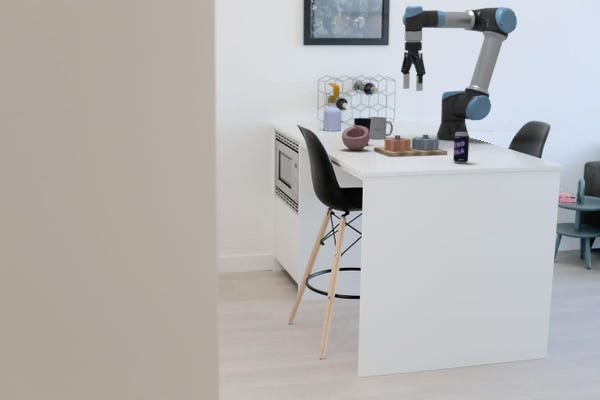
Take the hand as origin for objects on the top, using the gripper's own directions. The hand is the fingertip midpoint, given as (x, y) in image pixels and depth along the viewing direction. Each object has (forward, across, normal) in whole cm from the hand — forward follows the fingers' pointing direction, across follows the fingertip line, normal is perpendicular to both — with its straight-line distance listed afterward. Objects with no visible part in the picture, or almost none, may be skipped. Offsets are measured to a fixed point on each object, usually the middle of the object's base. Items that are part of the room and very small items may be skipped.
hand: (412, 89), depth 381 cm
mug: (+26, -29, -3) cm, 39 cm away
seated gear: (+24, +22, -4) cm, 32 cm away
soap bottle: (+26, -68, -14) cm, 74 cm away
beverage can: (+25, +53, -4) cm, 58 cm away
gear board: (+25, +21, -11) cm, 35 cm away
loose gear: (+23, +21, -17) cm, 36 cm away
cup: (+25, -8, -21) cm, 34 cm away
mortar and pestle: (+25, +8, -31) cm, 40 cm away
